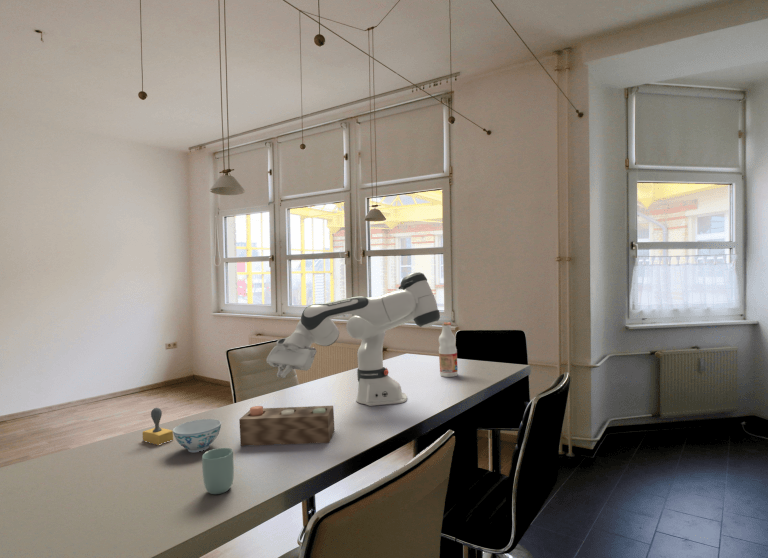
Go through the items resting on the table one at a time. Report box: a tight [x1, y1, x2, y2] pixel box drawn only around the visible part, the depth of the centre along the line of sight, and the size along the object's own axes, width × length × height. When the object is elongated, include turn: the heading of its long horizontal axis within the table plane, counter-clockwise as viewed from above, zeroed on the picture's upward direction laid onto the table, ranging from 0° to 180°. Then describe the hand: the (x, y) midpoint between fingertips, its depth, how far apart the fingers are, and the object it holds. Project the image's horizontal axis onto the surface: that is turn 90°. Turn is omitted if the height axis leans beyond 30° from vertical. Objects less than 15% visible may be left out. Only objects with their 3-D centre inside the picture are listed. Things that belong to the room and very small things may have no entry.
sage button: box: [313, 408, 326, 413], centre depth 157 cm, size 4×4×3 cm
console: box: [239, 405, 335, 447], centre depth 158 cm, size 30×12×9 cm, turn 87°
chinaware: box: [172, 418, 222, 453], centre depth 152 cm, size 15×15×8 cm
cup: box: [201, 447, 235, 495], centre depth 120 cm, size 8×8×10 cm
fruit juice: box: [438, 321, 459, 378], centre depth 241 cm, size 9×9×28 cm
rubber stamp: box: [142, 407, 174, 446], centre depth 162 cm, size 10×6×12 cm, turn 58°
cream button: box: [281, 409, 294, 415], centre depth 158 cm, size 4×4×3 cm
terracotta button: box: [249, 405, 264, 416], centre depth 158 cm, size 4×4×3 cm
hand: (280, 376), depth 167 cm, fingers closed
